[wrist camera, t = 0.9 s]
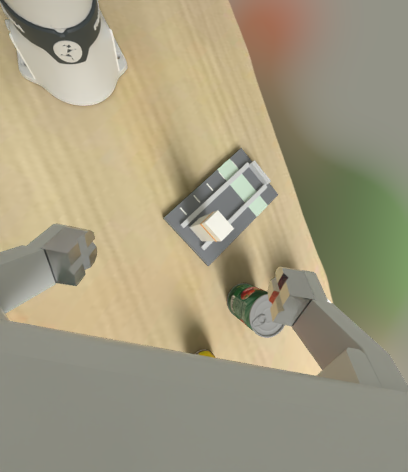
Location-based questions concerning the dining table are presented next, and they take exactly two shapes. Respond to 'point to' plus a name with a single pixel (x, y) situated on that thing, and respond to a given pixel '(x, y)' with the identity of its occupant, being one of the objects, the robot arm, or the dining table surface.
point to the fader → (212, 227)
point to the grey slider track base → (223, 203)
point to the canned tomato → (253, 309)
